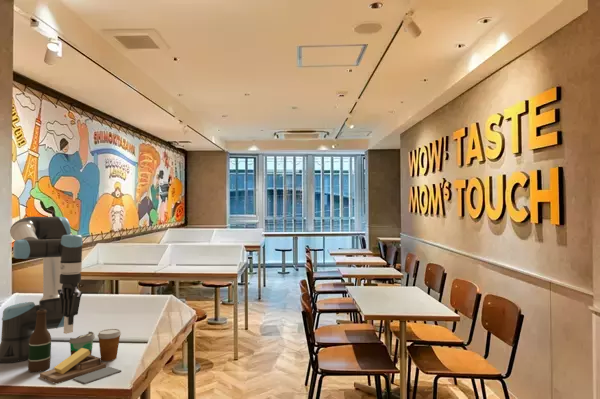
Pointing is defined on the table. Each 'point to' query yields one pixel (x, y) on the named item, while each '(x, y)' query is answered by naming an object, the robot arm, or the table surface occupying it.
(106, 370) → the charcoal mat
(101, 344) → the disposable coffee cup
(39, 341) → the beer bottle
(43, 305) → the robot arm
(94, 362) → the walnut jig
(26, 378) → the table surface
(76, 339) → the food container
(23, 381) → the table surface
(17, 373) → the table surface
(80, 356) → the mustard bar
